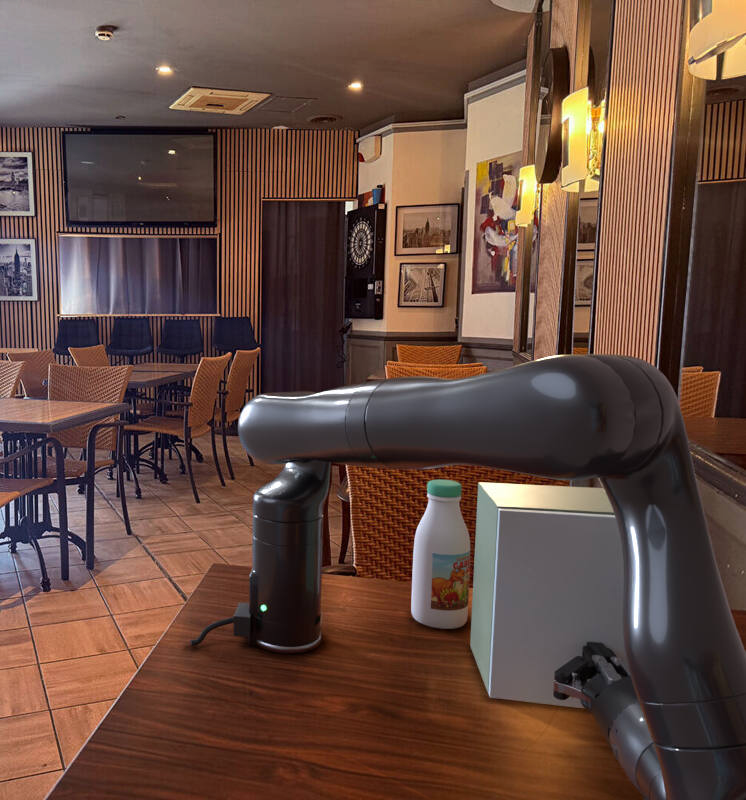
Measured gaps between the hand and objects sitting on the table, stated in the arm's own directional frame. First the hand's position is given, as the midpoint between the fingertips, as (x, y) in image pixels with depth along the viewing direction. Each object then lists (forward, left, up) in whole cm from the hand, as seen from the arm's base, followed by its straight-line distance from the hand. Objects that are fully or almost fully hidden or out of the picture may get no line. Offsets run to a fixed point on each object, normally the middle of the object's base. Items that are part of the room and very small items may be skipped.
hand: (593, 650), depth 75 cm
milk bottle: (-13, +22, -7) cm, 26 cm away
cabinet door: (-2, -2, -7) cm, 7 cm away
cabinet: (-2, +8, -7) cm, 10 cm away
